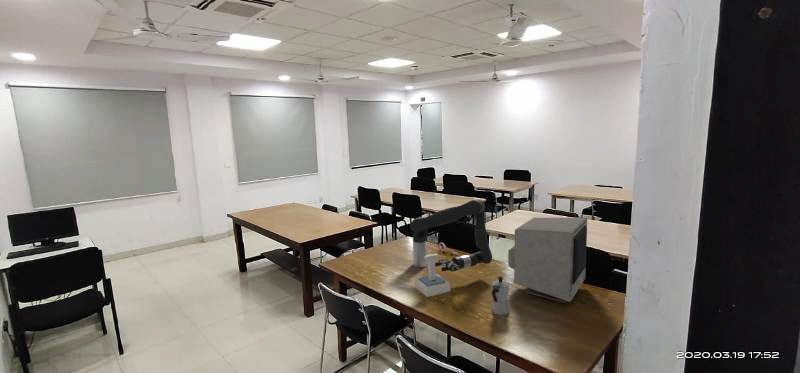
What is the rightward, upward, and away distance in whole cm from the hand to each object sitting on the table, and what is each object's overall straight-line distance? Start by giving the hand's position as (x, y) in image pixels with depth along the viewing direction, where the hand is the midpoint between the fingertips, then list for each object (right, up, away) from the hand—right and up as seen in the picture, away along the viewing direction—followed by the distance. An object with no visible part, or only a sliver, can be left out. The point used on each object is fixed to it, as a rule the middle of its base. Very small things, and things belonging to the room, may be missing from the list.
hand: (437, 267), depth 214 cm
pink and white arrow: (+15, -3, +62) cm, 64 cm away
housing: (-3, -13, 0) cm, 13 cm away
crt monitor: (+59, -12, -8) cm, 60 cm away
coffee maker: (+28, -16, -30) cm, 44 cm away
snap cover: (-3, -9, 0) cm, 9 cm away
